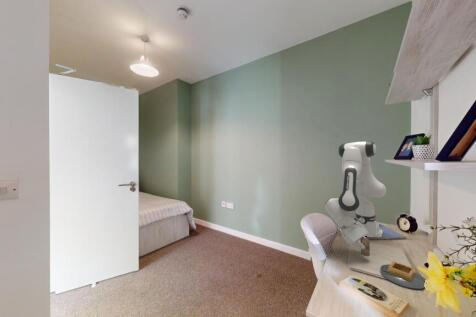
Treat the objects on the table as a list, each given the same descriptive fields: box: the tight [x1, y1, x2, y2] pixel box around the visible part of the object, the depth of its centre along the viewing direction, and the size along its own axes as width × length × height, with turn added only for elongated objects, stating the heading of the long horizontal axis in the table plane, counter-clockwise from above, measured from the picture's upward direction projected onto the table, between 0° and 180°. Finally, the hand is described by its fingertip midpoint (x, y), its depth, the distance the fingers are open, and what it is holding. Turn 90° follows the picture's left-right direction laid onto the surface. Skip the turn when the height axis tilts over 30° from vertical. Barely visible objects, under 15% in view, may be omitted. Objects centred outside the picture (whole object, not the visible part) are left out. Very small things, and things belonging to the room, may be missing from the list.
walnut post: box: [360, 237, 371, 257], centre depth 100 cm, size 4×4×8 cm
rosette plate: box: [379, 260, 426, 291], centre depth 85 cm, size 16×16×4 cm
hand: (366, 246), depth 100 cm, fingers closed on walnut post, 4 cm apart
